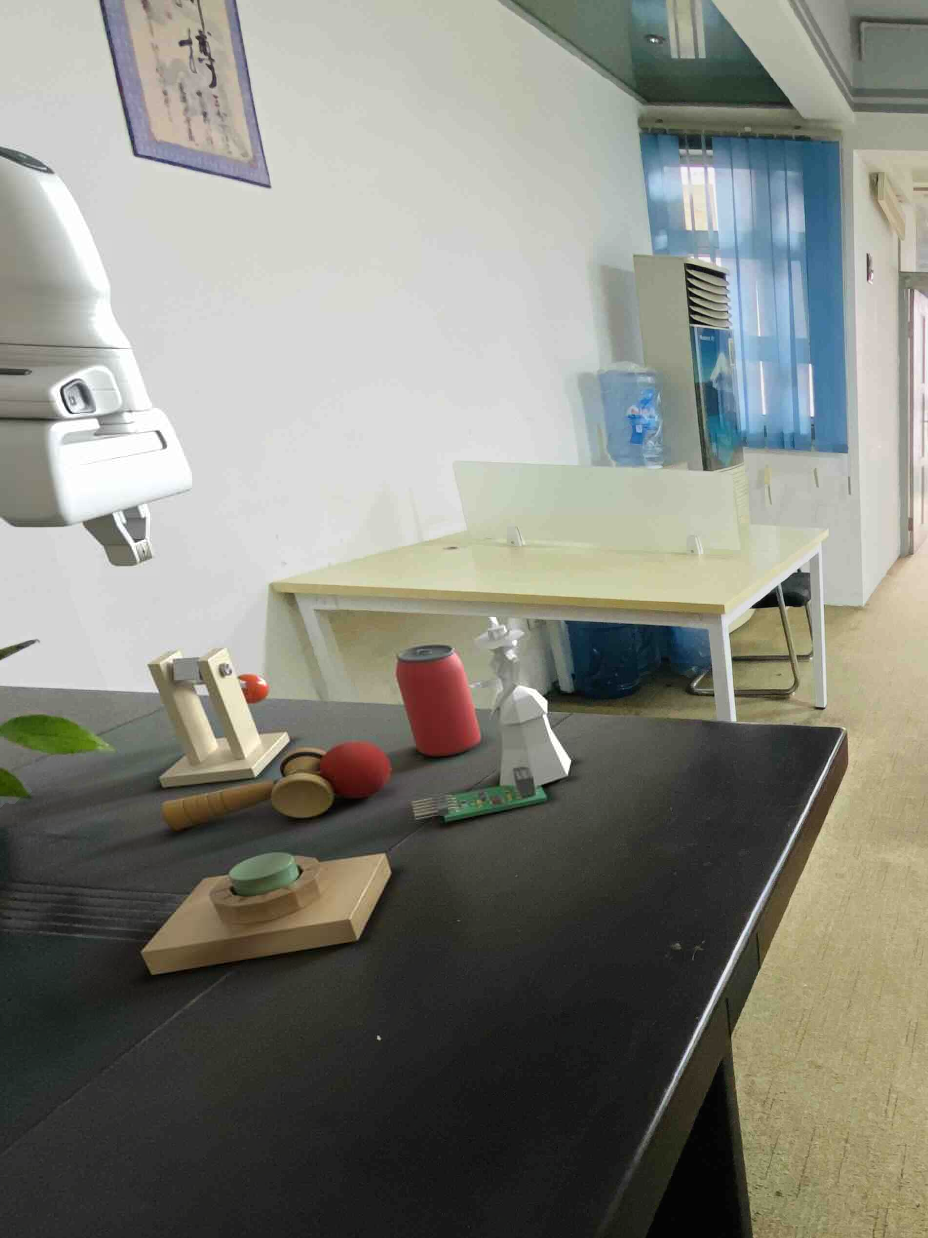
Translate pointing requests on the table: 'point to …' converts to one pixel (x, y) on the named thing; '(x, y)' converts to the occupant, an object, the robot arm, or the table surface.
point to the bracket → (203, 752)
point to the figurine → (520, 714)
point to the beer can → (437, 700)
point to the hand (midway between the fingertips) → (134, 562)
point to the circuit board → (484, 799)
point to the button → (264, 874)
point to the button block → (270, 915)
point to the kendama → (293, 785)
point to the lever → (190, 675)
